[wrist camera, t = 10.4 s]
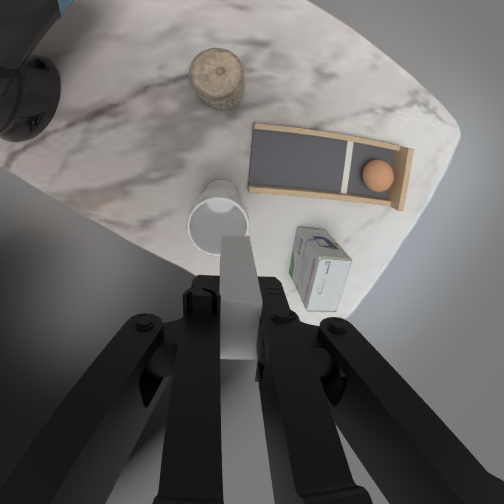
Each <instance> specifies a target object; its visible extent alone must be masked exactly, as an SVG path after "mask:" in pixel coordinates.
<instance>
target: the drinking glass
mask: <svg viewBox="0 0 504 504" xmlns="http://www.w3.org/2000/svg"><path fill="white" fill-rule="evenodd" d="M187 231H188V235H189V238H190V240H191V242H192V243H193V244H194V246H195V247H196V248H197V249H199V250H200V251H202V252H203V253H205V254H208V255H212V256H221V235H230V236H248V233H249V217H248V212H247V209H246V206H245V204H244V202H243V200H242V199H241V197H240V195H239V194H238V191H237V189H236V187H235V186H234V185H233V184H232V183H230V182H228V181H226V180H216V181H213V182H211V183H210V184H209V185H208V186H207V187H206V188H205V190H204V191H203V193H202V194H201V195H200V196H199V197H198V198H197V199H196V201H195V202H194V204H193V206H192V208H191V210H190V213H189V217H188V222H187Z"/></svg>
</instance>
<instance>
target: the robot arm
mask: <svg viewBox="0 0 504 504" xmlns="http://www.w3.org/2000/svg"><path fill="white" fill-rule="evenodd" d="M73 1H74V0H0V138H2V139H5V140H7V141H11V142H20V141H25V140H29V139H32V138H33V137H35V136H37V135H38V134H39V133H41V132H42V131H43V130H44V128H45V127H46V126H47V125H48V123H49V122H50V120H51V119H52V117H53V115H54V113H55V110H56V108H57V105H58V101H59V96H60V79H59V74H58V71H57V69H56V67H55V66H54V64H53V63H52V62H51V61H49V60H48V59H46V58H43V57H39V56H35V55H30V54H31V52H32V51H33V50H34V48H35V47H36V46H37V44H38V43H39V42H40V40H41V39H42V38H43V36H44V35H45V34H46V33H47V31H48V30H49V29H50V28H51V26H52V25H53V24H54V23H55V22H56V20H57V19H60V18H61V17H62V16H63V13H64V11H65V10H66V9H67V8H68V7H69V5H70V4H71V3H72V2H73ZM183 314H184V315H183V317H182V318H180V319H178V320H176V321H172V322H166V323H162V320H161V319H160V318H159V317H158V316H156V315H153V314H147V313H144V314H138V315H135V316H133V317H131V318H130V319H129V320H128V321H127V322H126V323H125V324H124V325H123V326H122V328H121V329H120V330H119V331H118V332H117V334H116V335H115V336H114V337H113V338H112V340H111V341H110V342H109V343H108V344H107V346H106V347H105V348H104V349H103V351H102V352H101V353H100V354H99V355H98V357H97V358H96V359H95V360H94V362H93V363H92V364H91V366H90V367H89V368H88V369H87V370H86V372H85V373H84V374H83V375H82V377H81V378H80V379H79V380H78V382H77V383H76V384H75V386H74V387H73V388H72V389H71V391H70V392H69V393H68V394H67V396H66V397H65V398H64V400H63V401H62V402H61V404H60V405H59V406H58V407H57V409H56V410H55V411H54V413H53V414H52V415H51V417H50V418H49V420H48V421H47V422H46V423H45V425H44V426H43V427H42V429H41V430H40V432H39V433H38V434H37V436H36V437H35V438H34V440H33V441H32V443H31V444H30V445H29V447H28V448H27V450H26V451H25V453H24V454H23V455H22V457H21V458H20V460H19V461H18V463H17V464H16V466H15V467H14V468H13V470H12V471H11V473H10V474H9V476H8V477H7V479H6V480H5V482H4V483H3V485H2V486H1V488H0V504H105V503H106V501H107V499H108V497H109V495H110V493H111V491H112V489H113V487H114V485H115V483H116V481H117V479H118V477H119V475H120V473H121V471H122V469H123V467H124V465H125V464H126V462H127V460H128V457H129V456H130V454H131V452H132V449H133V448H134V446H135V444H136V442H137V440H138V438H139V436H140V434H141V432H142V430H143V428H144V426H145V424H146V422H147V420H148V418H149V417H150V415H151V413H152V411H153V409H154V407H155V405H156V403H157V401H158V399H159V397H160V395H161V393H162V391H163V389H164V387H165V386H166V384H167V382H168V379H169V376H173V379H172V386H171V393H170V399H169V406H168V414H167V421H166V429H165V436H164V445H163V453H162V463H161V472H160V482H159V491H158V495H157V496H156V497H155V498H154V500H153V504H224V501H223V482H222V453H221V409H220V408H221V405H220V359H256V354H257V355H258V362H257V370H256V378H255V381H256V382H257V381H258V382H259V390H260V398H261V406H262V413H263V420H264V428H265V436H266V442H267V450H268V457H269V465H270V472H271V480H272V487H273V494H274V501H275V504H373V503H372V500H371V497H370V495H369V493H368V491H367V490H366V489H365V488H364V487H361V486H358V485H356V484H355V483H354V481H353V478H352V475H351V472H350V469H349V466H348V462H347V459H346V456H345V453H344V450H343V447H342V444H341V441H340V438H339V435H338V432H337V428H336V425H337V427H338V428H339V430H340V431H341V433H342V434H343V436H344V437H345V439H346V440H347V442H348V443H349V445H350V446H351V448H352V449H353V451H354V452H355V454H356V455H357V457H358V458H359V460H360V461H361V463H362V464H363V466H364V467H365V469H366V470H367V472H368V473H369V474H370V476H371V477H372V479H373V480H374V482H375V483H376V485H377V486H378V488H379V489H380V491H381V492H382V493H383V495H384V496H385V498H386V499H387V501H388V502H389V504H504V481H502V480H501V479H499V478H497V477H495V476H493V475H492V474H490V473H488V472H487V471H486V470H485V469H484V467H483V466H482V465H481V464H480V463H479V462H478V460H477V459H476V458H475V457H474V456H473V455H472V454H471V453H470V451H469V450H468V449H467V448H466V447H465V446H464V445H463V444H462V442H461V441H459V439H458V438H457V437H456V436H455V435H454V433H453V432H452V431H451V430H450V429H449V428H448V427H447V426H446V425H445V424H444V423H443V421H442V420H441V419H440V418H439V417H438V416H437V415H436V414H435V413H434V411H433V410H432V409H431V408H430V407H429V406H428V405H427V404H426V403H425V402H424V401H423V399H422V398H421V397H420V396H419V395H418V394H417V393H416V392H415V391H414V390H413V389H412V388H411V387H410V385H409V384H408V383H407V382H406V381H405V380H404V379H403V378H402V377H401V376H400V375H399V374H398V372H397V371H396V370H395V369H394V368H393V367H392V366H391V365H390V364H389V363H388V362H387V361H386V360H385V359H384V358H383V357H382V356H381V355H380V353H378V351H377V350H376V349H375V348H374V347H373V346H372V345H371V344H370V343H369V342H368V341H367V340H366V339H365V338H364V336H363V335H362V334H361V333H360V332H359V331H358V330H357V329H356V328H355V327H354V326H353V325H352V324H351V323H349V322H348V321H346V320H344V319H342V318H337V317H328V318H326V319H323V320H322V321H321V322H320V326H315V325H310V324H306V323H303V322H301V321H300V320H299V317H298V315H297V314H296V313H295V312H293V311H292V310H290V308H289V305H288V302H287V299H286V296H285V293H284V290H283V287H282V284H281V282H280V281H279V280H278V279H277V278H275V277H258V276H257V272H256V267H255V262H254V257H253V252H252V247H251V242H250V238H249V236H230V235H221V256H220V276H210V275H198V276H197V277H196V278H195V279H194V280H193V282H192V286H191V288H189V289H188V290H186V291H185V292H184V294H183ZM335 424H336V425H335Z"/></svg>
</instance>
